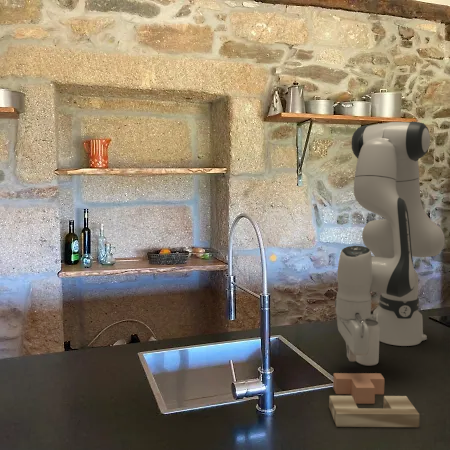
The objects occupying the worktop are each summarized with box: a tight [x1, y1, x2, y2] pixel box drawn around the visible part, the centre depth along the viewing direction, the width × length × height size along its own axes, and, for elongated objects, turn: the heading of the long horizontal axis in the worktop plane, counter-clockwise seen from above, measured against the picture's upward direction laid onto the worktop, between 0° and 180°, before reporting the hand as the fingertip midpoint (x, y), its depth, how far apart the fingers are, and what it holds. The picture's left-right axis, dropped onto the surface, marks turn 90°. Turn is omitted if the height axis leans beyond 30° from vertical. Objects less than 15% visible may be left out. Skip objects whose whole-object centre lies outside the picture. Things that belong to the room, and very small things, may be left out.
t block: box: [332, 372, 385, 405], centre depth 123 cm, size 8×12×4 cm
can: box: [355, 318, 380, 367], centre depth 144 cm, size 6×6×12 cm
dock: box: [328, 395, 421, 428], centre depth 113 cm, size 8×18×3 cm, turn 89°
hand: (351, 359), depth 132 cm, fingers closed
